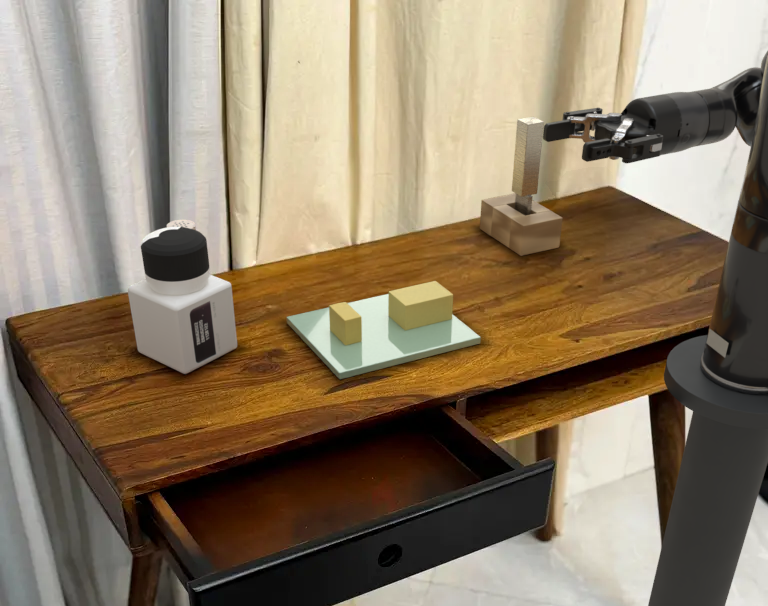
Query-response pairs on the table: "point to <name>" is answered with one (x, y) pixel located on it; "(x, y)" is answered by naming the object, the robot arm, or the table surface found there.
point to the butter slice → (345, 323)
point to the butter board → (378, 338)
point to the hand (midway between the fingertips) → (564, 142)
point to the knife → (527, 162)
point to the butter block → (420, 305)
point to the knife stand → (520, 225)
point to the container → (181, 302)
